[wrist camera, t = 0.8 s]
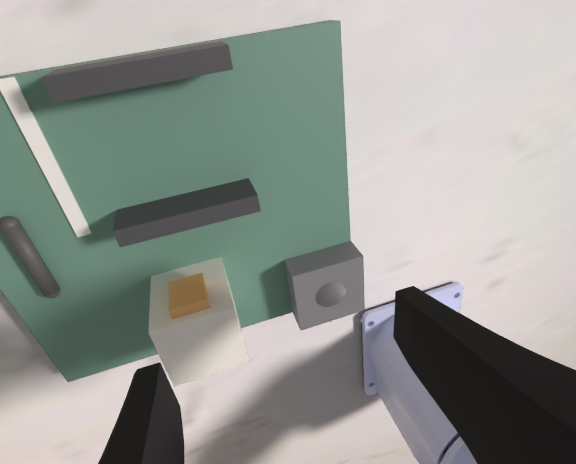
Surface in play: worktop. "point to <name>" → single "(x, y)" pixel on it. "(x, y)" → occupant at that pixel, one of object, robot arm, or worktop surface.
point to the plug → (195, 321)
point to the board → (176, 188)
